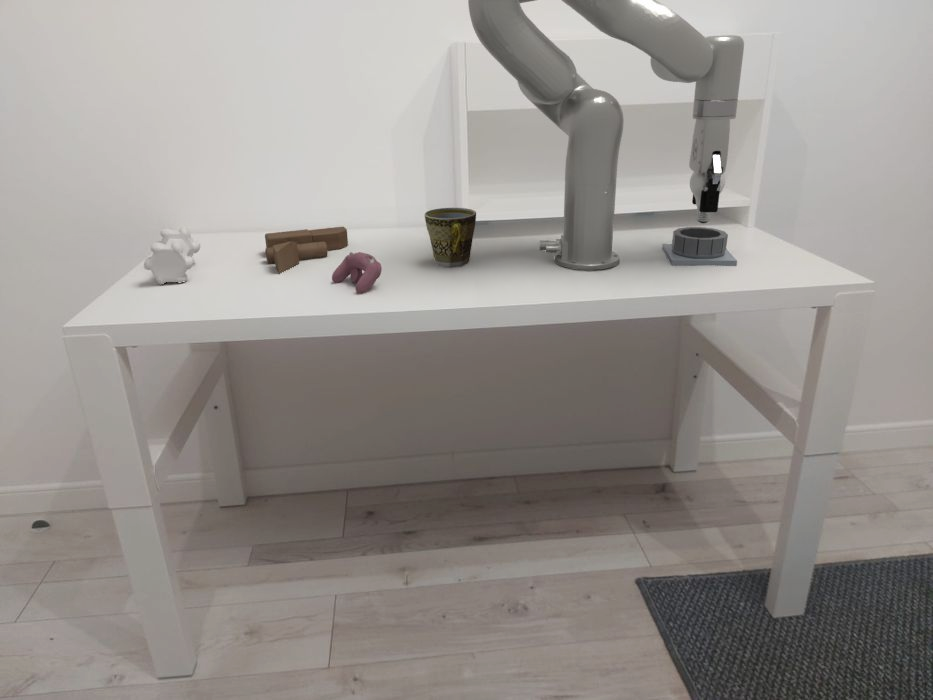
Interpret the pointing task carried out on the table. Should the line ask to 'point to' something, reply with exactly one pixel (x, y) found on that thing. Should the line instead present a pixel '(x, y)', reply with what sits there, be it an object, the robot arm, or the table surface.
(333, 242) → the wooden block set
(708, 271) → the table surface
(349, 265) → the video game controller
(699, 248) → the socket
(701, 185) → the lightbulb
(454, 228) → the ceramic cup
